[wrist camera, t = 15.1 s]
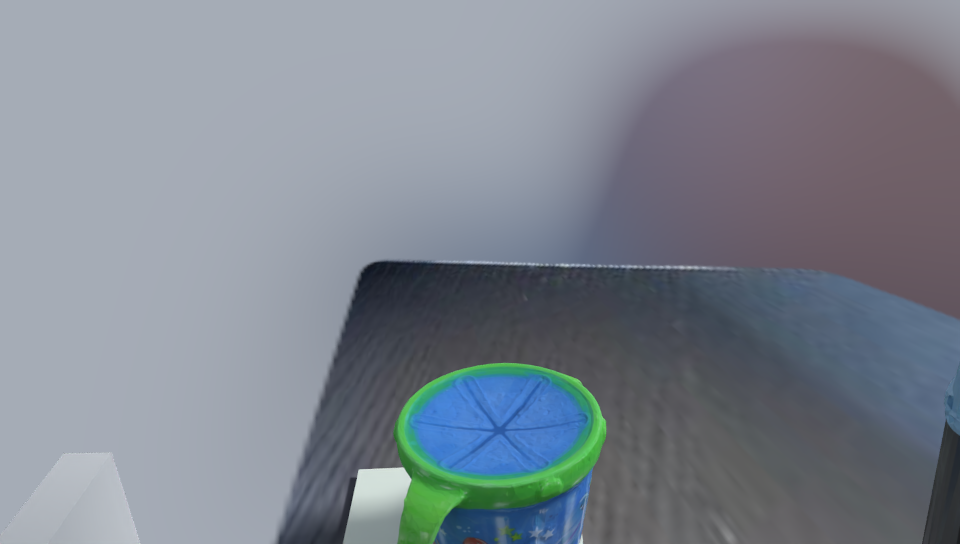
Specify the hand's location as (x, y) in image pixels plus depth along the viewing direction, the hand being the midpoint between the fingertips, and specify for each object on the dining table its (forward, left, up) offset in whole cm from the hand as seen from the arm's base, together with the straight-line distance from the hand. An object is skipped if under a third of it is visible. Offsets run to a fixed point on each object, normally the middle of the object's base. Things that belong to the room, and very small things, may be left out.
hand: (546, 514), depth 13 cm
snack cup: (-11, -24, -27) cm, 38 cm away
